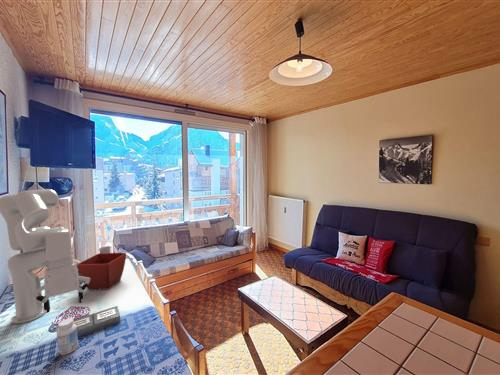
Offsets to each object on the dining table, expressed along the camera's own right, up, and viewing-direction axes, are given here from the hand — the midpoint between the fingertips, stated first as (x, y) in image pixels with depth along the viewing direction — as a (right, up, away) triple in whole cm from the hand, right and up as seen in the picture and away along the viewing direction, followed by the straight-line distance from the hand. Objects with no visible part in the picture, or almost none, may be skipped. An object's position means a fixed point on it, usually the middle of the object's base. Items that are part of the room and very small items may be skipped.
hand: (64, 306), depth 89 cm
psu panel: (+1, -17, +15) cm, 23 cm away
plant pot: (-19, -15, +55) cm, 60 cm away
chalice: (-28, -14, +71) cm, 78 cm away
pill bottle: (0, -18, +1) cm, 18 cm away
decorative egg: (-41, -15, +59) cm, 73 cm away
